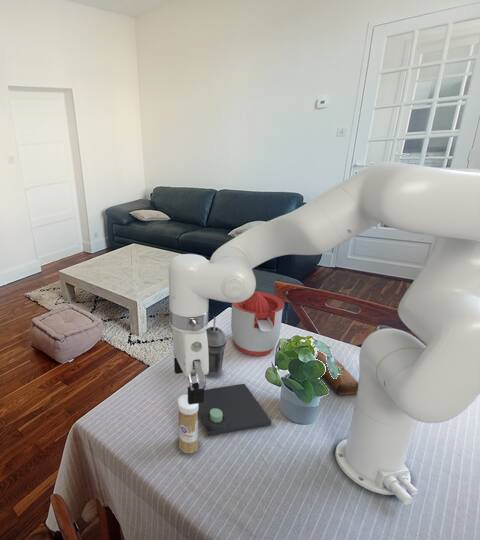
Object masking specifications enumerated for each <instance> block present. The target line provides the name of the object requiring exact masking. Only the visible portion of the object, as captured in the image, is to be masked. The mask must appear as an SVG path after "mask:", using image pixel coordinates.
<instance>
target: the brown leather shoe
mask: <svg viewBox="0 0 480 540" xmlns="http://www.w3.org/2000/svg"><path fill="white" fill-rule="evenodd" d="M319 351H320V350H317V352H318V355H317V357H316V359H318V360H320V361H322V362H323V363H324V364H325V366H326V372H325V374H324V375H323V376H322V378H323V379H324V381H326V382H327V384H328V385H329V386H330V387H331V388H332V389H333V390H334V392H336V393H337V394H338V395H339V396H352V395H357V390H358V382H359V381H358V380H357V379H355V377H354V376H353V375H352V374H351V373H350V372H349V371H348V370H347V369H346V368H345V366H344V365H343V364H342V363H341V362H339V360H337V359H336V358H335V357H334V356H332V357H333V358H334V360H335V362H336V364H337V366H338V367H339V368H340V369H341V370H342V371H343V374H342V375H338V377H337V379H333V378H332V377H331V375H330V373H329V370H328V367H327V364H326V356H325V355H324V354H323V353H321V352H322V351H320V352H319Z"/></svg>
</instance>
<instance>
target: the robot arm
mask: <svg viewBox="0 0 480 540" xmlns="http://www.w3.org/2000/svg"><path fill="white" fill-rule="evenodd" d="M380 224H383V225H384V226H386V227H388V228H392V229H394V230H398V231H403V232H407V233H412V234H418V235H419V234H420V235H427V236H432V237H434V244H433V247H432V249H431V252H430V254H429V256H428V258H427V260H426V261H425V263H424V264H423V266H422V268H421V269H420V270H419V272H418V274H417V275H416V276H415V278H414V280H413V281H412V283H411V284H410V286H409V287H408V289H407V290H406V291H405V293H404V295H403V296H402V297H401V300H400V302H399V303H398V307H397V314H398V315H397V316H398V317H399V319H400V321H401V322H402V323H403V324H404V325H405V326H406V327H407V328H408V329H409V331H411V332H412V333H413V334H414V335H415V336H414V335H412V334H411V333H410V332H407V331H404V330H402V329H397V328H393V329H390V328H388V329H380V330H377V329H376V330H377V331H376V330H375V331H373V332H372V333H370V334H369V335H367V336H366V338H364V340H363V341H362V344H361V347H360V350H359V359H358V363H359V367H358V368H359V371H358V373H359V374H358V376H359V377H358V382H359V384H358V390H357V394H355V395H356V396H355V400H354V404H353V409H352V413H351V418H350V423H349V429H348V434H347V438H345V439H343V440H340V441H339V442H338V443H337V445H336V448H335V452H334V453H335V454H334V455H335V461H336V462H337V464H338V466H339V468H340V469H341V471H342V472H343V473H344V474H345V475H346V476H347V477H348V478H349V479H350V480H352V481H353V482H354V483H356V485H357V484H358V485H359V486H360V487H362V488H364V489H365V490H369V491H371V492H373V493H377V494H380V495H385V496H396V497H397V498H398V499H399V501H400V502H401V503H402V504H403V505H404V506H409V505H411V504H413V503H414V501H415V500H414V498H413V497H412V496H416V495H418V494H419V492H420V491H419V490H418V489H417V487H415V486H414V485H413V484H412V483H411V479H412V477H411V473H410V469H409V468H408V467H407V465H406V459H407V456H408V453H409V450H410V447H411V443H412V439H413V437H414V434H415V429H416V426H417V424H418V422H421V423H423V424H424V423H425V424H440V423H444V422H448V421H450V420H453V419H454V418H456V417H458V416H459V415H461V414H462V413H463V412H464V411H466V409H468V408H469V407H470V405H472V403H474V401H475V400H476V399H477V398H478V397H479V396H480V169H478V168H467V167H466V168H465V167H463V168H462V167H461V168H449V169H448V168H441V167H435V166H434V167H433V166H428V165H420V164H414V163H405V162H398V161H381V162H376V163H374V164H372V165H368V166H367V167H365V168H363V169H360V170H359V171H358V172H356V173H354V174H353V175H351V176H349V177H348V178H346V179H344V180H343V181H340V182H339V183H338V184H336V185H334V186H333V187H331V188H330V189H328V190H326V191H325V192H322V193H321V194H319V195H318V196H316V197H314V198H313V199H311V200H310V201H308V202H306V203H305V204H303V205H301V206H300V207H297V208H296V209H294V210H293V211H291V212H288V213H285V214H282V215H279V216H277V217H275V218H273V219H271V220H267V221H265V222H263V223H259V224H257V225H255V226H253V227H250V228H249V229H246V230H245V231H243V232H242V233H240V234H238V235H237V236H234V237H233V238H232V239H230V240H229V241H226V243H224V244H222V245H221V246H220V247H218V248H217V249H216V250H215V251H213V253H212V255H211V257H210V259H209V260H208V259H207V258H206V257H205V256H203V255H199V254H195V253H183V254H179V255H178V254H177V255H176V256H174V257H172V258H171V259H170V261H169V263H168V307H169V308H168V312H169V315H168V316H169V317H168V318H169V326H170V327H171V328H172V350H173V356H174V358H173V369H174V370H173V371H174V374H175V375H179V374H183V375H184V376H185V377H187V380H188V386H187V394H188V404H197V403H203V402H204V390H206V386H207V379H206V376H207V374H208V372H209V355H208V339H207V332H206V329H207V328H208V326H209V306H210V305H209V302H210V300H214V301H219V302H222V303H223V302H224V303H230V304H232V303H238V302H242V301H245V300H247V299H249V298H250V297H251V296H252V295H253V293H254V291H256V288H257V279H256V275H255V273H254V271H253V269H254V268H256V267H258V266H260V265H262V264H263V263H265V262H267V261H270V260H273V259H275V258H278V257H282V256H287V255H288V256H289V255H299V256H300V255H301V256H318V255H323V254H325V253H327V252H329V251H331V250H333V249H334V248H337V247H338V246H340V245H342V244H344V243H345V242H347V241H348V240H351V239H352V238H355V237H357V236H358V235H360V234H362V233H364V232H366V231H368V230H370V229H372V228H374V227H376V226H377V225H380ZM209 299H210V300H209ZM193 370H194V372H192V371H193ZM205 375H206V376H205ZM193 377H196V382H193V381H194V380H193ZM408 492H409V493H410V494H411V495H410V494H409V493H408Z"/></svg>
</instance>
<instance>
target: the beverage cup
mask: <svg viewBox="0 0 480 540" xmlns="http://www.w3.org/2000/svg"><path fill="white" fill-rule="evenodd" d="M216 318H217V317H216V316H213V325H212V326H209V327H207V328H206V332H207V339H208V355H209V372H208V374H207V375H206V376H207V377H209V378H215V379H216V378H219V377H220V376H221V374H222V370H223V369H222V368H223V362H224V354H225V349H226V345H227V341H228V340H227V337H226V334H225V332H224V331H223V330H222V329H221V328H220V327H217V326H216V322H217V319H216Z"/></svg>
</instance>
